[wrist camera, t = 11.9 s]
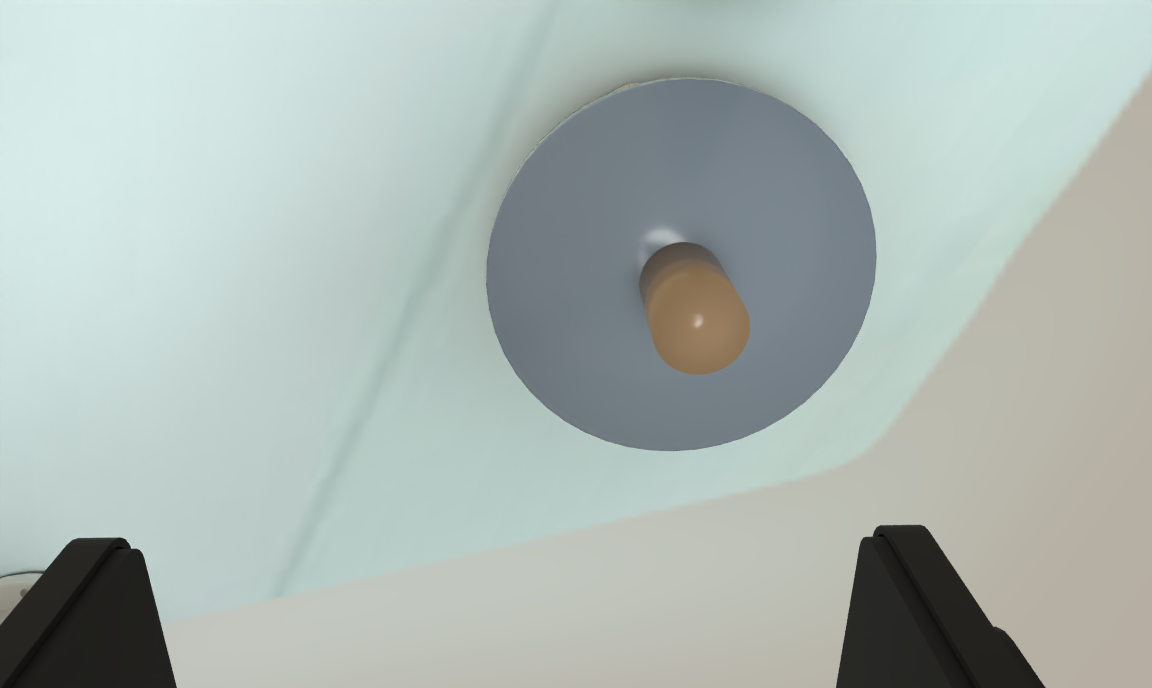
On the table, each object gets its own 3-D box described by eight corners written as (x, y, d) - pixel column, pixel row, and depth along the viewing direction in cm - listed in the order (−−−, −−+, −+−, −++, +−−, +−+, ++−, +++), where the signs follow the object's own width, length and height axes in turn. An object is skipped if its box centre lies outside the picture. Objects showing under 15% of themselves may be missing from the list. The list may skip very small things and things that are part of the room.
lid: (842, 434, 40) (890, 512, 34) (496, 440, 39) (487, 521, 34) (892, 75, 33) (962, 97, 27) (478, 78, 33) (463, 102, 27)
